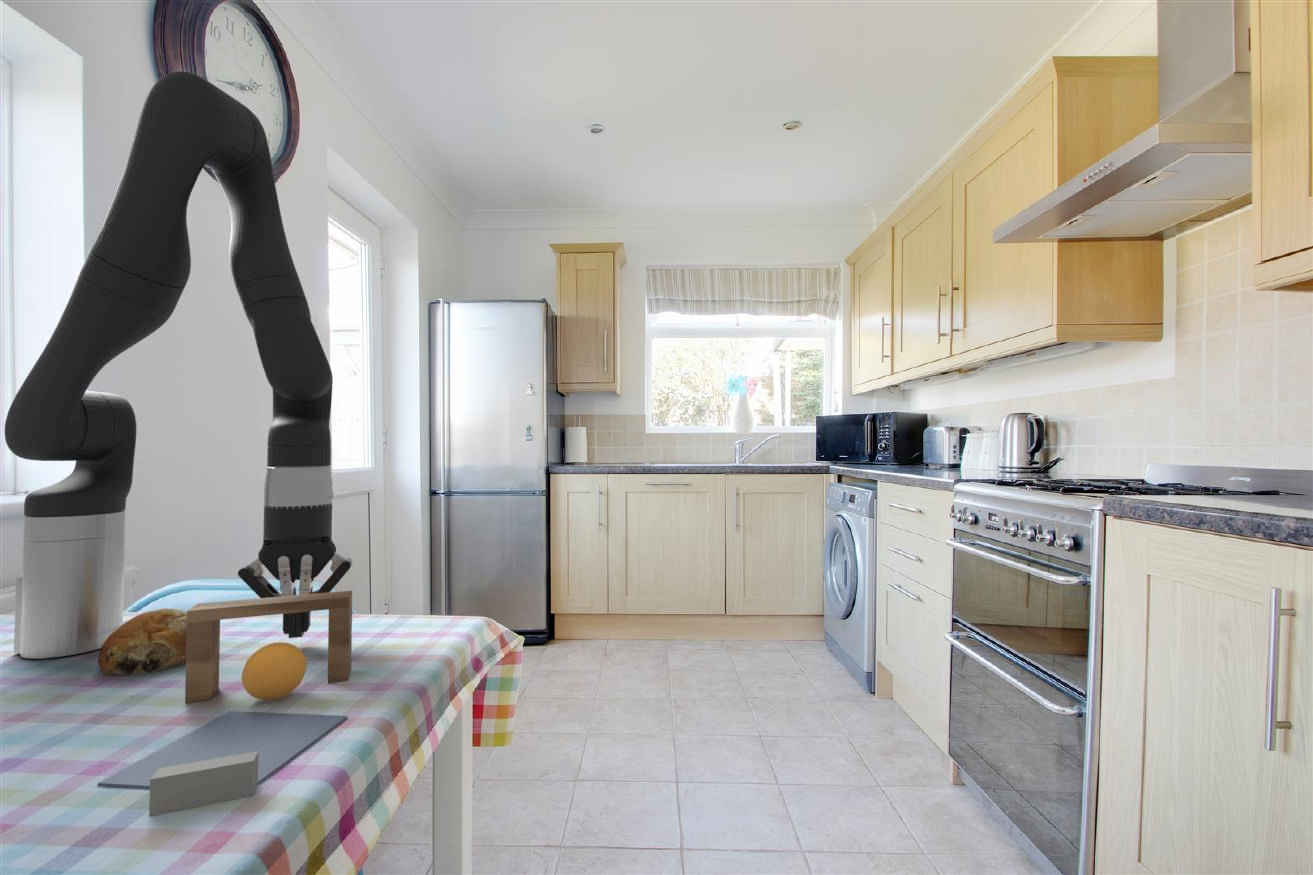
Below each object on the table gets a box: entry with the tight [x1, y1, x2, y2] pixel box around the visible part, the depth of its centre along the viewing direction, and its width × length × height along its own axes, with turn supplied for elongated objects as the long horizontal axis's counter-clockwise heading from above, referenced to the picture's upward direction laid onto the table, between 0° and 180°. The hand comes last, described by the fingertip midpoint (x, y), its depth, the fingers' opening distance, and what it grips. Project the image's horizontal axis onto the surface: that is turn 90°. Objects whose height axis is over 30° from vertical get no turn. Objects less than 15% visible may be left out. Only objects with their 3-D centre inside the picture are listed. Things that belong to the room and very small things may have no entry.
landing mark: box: [97, 710, 348, 790], centre depth 48 cm, size 12×12×1 cm
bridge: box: [184, 590, 353, 704], centre depth 61 cm, size 3×14×9 cm, turn 113°
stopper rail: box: [148, 751, 259, 817], centre depth 41 cm, size 2×6×2 cm, turn 113°
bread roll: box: [97, 608, 187, 676], centre depth 69 cm, size 10×10×8 cm
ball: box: [241, 641, 307, 701], centre depth 58 cm, size 6×6×6 cm
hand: (296, 635), depth 73 cm, fingers closed
